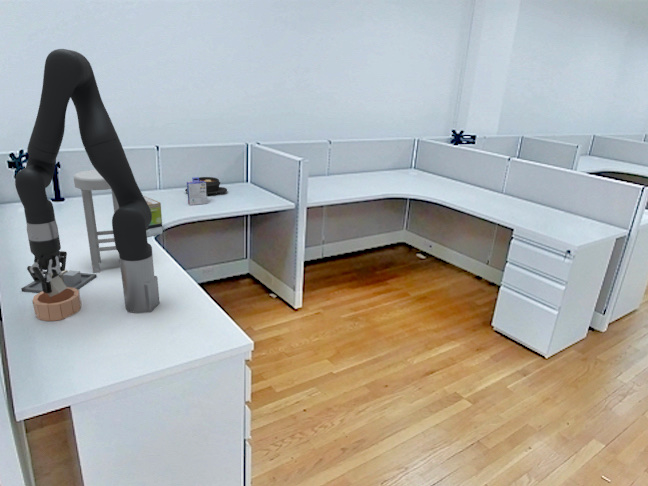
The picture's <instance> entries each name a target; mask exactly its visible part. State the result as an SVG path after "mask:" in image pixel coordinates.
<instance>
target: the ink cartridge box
mask: <svg viewBox="0 0 648 486" xmlns="http://www.w3.org/2000/svg"><path fill="white" fill-rule="evenodd" d="M193 179H198V180H193ZM186 189H187V192H186V193H187V204H188V206H195V205H207V204H208V197H207V196H208V195H206V182H205V181H199V177H192V180H191V181H186Z"/></svg>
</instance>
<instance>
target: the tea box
mask: <svg viewBox="0 0 648 486" xmlns="http://www.w3.org/2000/svg"><path fill="white" fill-rule="evenodd" d="M143 197H144V198H145V200H146V202H147V204H148V206H149V208H150V210H151V213H152V220H151V223H150V225H149V226H148V227H147V228H146V234H147V238H148V237H152V236H158V235H162V234H163V216H162V203H161V202H160V201H158V200H155V199H153V198H150V197H148V196H145V195H143Z"/></svg>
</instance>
